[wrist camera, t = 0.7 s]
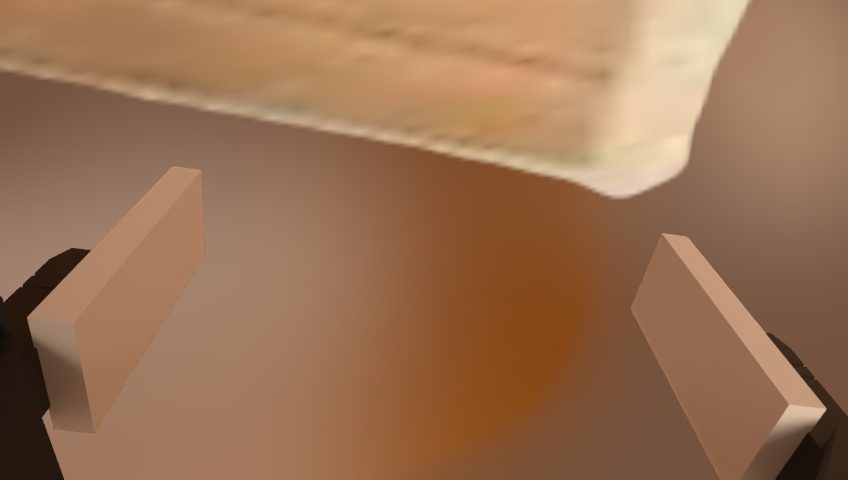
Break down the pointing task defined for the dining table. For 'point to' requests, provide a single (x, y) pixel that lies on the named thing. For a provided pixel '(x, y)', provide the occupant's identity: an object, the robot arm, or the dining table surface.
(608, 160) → the dining table surface
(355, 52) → the dining table surface
